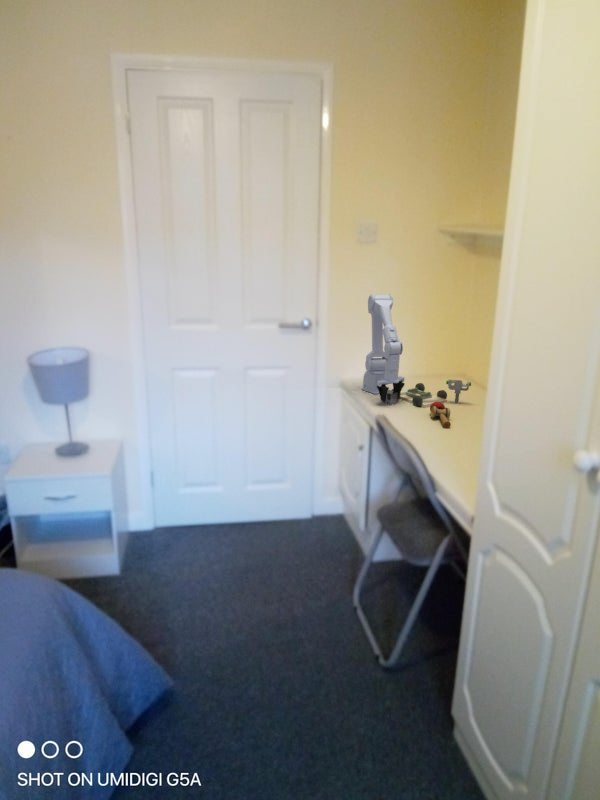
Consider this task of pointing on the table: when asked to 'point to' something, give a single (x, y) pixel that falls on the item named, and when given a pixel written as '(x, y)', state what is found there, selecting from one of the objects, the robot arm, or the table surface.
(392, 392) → the block
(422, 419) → the table surface
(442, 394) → the chassis
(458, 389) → the mechanical component
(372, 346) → the robot arm
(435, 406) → the kendama
